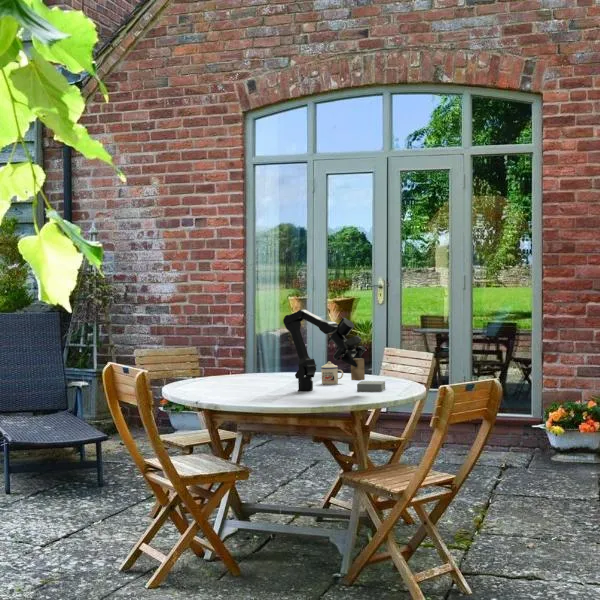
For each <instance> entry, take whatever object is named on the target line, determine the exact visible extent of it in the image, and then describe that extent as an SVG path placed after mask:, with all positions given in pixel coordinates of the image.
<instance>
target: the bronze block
mask: <svg viewBox="0 0 600 600" xmlns="http://www.w3.org/2000/svg"><path fill="white" fill-rule="evenodd" d="M354 361H355V362H356V364H357V367H354V366H352V365H350V372H351V373H350V375H351V377H350V380H351V381H358V382H361V381H366V380H365V377H366V375H365V358H362V357H361V358H355V359H354Z"/></svg>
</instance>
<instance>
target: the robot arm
mask: <svg viewBox="0 0 600 600" xmlns="http://www.w3.org/2000/svg"><path fill="white" fill-rule="evenodd" d="M303 321H306V322H308V323H310V324H312V325H313V326H316V328H317V327H318V329H319V331H320V332H322V333H323V334H325V335H329V336H328V339H327V342H328V343H330V342H333V343H334V345H335V346H336V347H335V348H336V352H335V353H334V354H333V359H334V360H335V361H336V362H337V361H341V362H343V363H346V364H349V365H350V366H351V365H352V366H354V367H357V364H356V362H355V361H354V359H355V358H362V355H363V354H364V353H365V351H366V350H367V349H366V347H365V346H363V345H361V346H356V345H358V344H361V342H362V337H360V336H359V335H355V336H352V337H350V338H349V339H348V338H346V337H345V336H348V335H349V334H350V332H351V331H352V330H353V329H354V327H355V324H354V323H353V321H351V320H349V319H347V318H346V317H342V318H341V320H340V322H339V323H337V322H336V321H333V320H328V319H323V318H322V317H320V316H319V315H316V314H314V313H313V312H310V311H309V310H307V309H299V310H298V311H296V312H293V313H290V314H287V315H284V317H283V324H284V327H285V329H286V330H287V331H288V332H289V333H290V335H291V339H292V341H293V344H294V347H295V350H296V354H297V356H298V365H297V366H298V370H297V371H296V373H295V374H294V376H295V379H298V380H297V381H298V383H297V384H298V387H297V388H298V389H297V391H298V392H310V391H312V390H314V380H313V379H312V378H314V377H315V374H316V371H317V364H316V361H315V358H311V357H310V356H309V353H308V350H307V347H306V344H305V341H304V337H303V335H302V333H301V326H302V322H303ZM330 334H331V335H330Z"/></svg>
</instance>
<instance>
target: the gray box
mask: <svg viewBox="0 0 600 600" xmlns="http://www.w3.org/2000/svg"><path fill="white" fill-rule="evenodd" d="M383 389H384V390H385V389H386V381H385V380H382V381H380V380H374V381H372V380H370V381H369V380H367V381H366V380H360V381H358V383H356V391H357V392H383V391H384V390H383ZM382 390H383V391H382Z"/></svg>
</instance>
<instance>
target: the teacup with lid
mask: <svg viewBox="0 0 600 600" xmlns="http://www.w3.org/2000/svg"><path fill="white" fill-rule="evenodd" d="M338 368H339V367H338V365H335V364H334V363H332V361H327V363H326V364H324V365H321V367H320V369H321V371H320V372H321V385H337V384H338V383H339V380H341V379H342V378H343V376H344V371H343V370H342V369H338ZM338 372H340V373H341V376H339V373H338Z"/></svg>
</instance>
